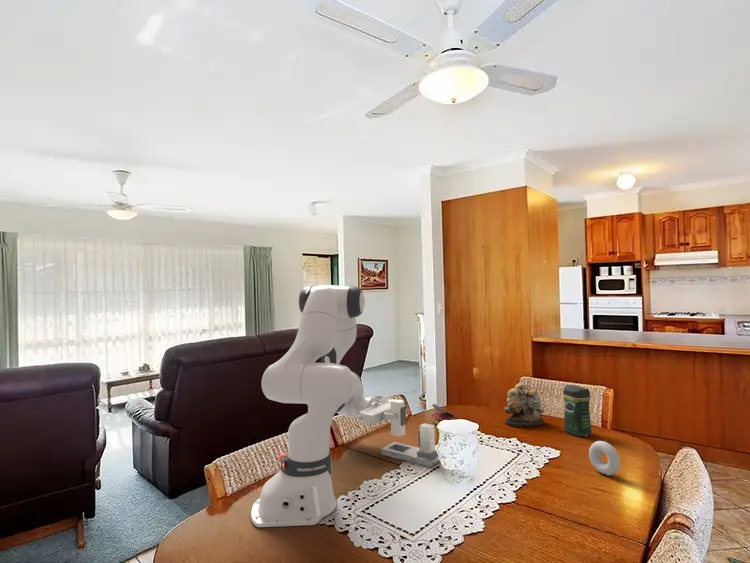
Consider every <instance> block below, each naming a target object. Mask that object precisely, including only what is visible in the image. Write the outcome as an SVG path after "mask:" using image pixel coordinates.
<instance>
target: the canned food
mask: <svg viewBox="0 0 750 563" xmlns="http://www.w3.org/2000/svg"><path fill="white" fill-rule="evenodd" d="M432 407H433V409H435V410H437V411H440V412H436V413H432V415H431V423H432V425H434V426H438V425H437V424H438V423H439V422H440V421H442V420H451V419H455V418H456V415H455V414H454V413H451V412H449V411H447V410H446V409H444V408H442V407H440V406H439V405H437V404H434V403H432ZM455 420H456V419H455Z"/></svg>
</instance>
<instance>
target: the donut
mask: <svg viewBox="0 0 750 563" xmlns="http://www.w3.org/2000/svg"><path fill="white" fill-rule="evenodd" d="M602 453H603V454H604V455H605V456H606V458H607V462H605V461H604V460H603V458H602ZM588 456H589V460H590V463H591V464H592V465H593V467H594V469H596V471H597V472H598V473H600V472H601V474H602V473H603V474H602V475H604V474H606V475H605V476H614V475H615V474H617V473H618V472H619V470H620V468H621V459H620V457H621V456H620V455H619V453H618V451H617V450H616V448H615V447H614V446H612V444H610V443H608V442H607V441H604V440H596V441H595V442H593V443H592V444H591V445H590V447H589V449H588Z"/></svg>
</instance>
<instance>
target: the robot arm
mask: <svg viewBox="0 0 750 563" xmlns="http://www.w3.org/2000/svg"><path fill="white" fill-rule="evenodd" d="M365 304H366V299H365V295H364V292H363V290H362V289H361V288H360V287H358V286H354V285H349V286H347V285H346V286H345V285H333V284H323V285H310V286H309V285H308V286H306V287H305V286H304V288H303V289H302V290H301V291H300V293H299V295H298V306H299V310H300V312H301V318H300V323H299V326H298V330H297V333H296V337H295V338H294V339H295V340H294V342H292V343H293V344H292V345H291V346H290V348H289V350H288V351H287V352H286V353H285V354H284V355H283V356H282V357H281V358H280V359H278V360H277V361H276V362H274V363H273V364H270V365H269V366H268V367H267V368H266V369H265V370H264V373H263V375H262V378H261V382H260V383H261V390H262V393H263V394H264V396H265V398H267V399H268V400H271V401H274V402H278V403H282V404H305V405H307V413H305V414H302V415H301V416H298V417H297V418H296V419H294V420H293V421H292V422H291V424H290V425H289V427H288V431H287V437H288V438H287V439H288V440H287V443H288V444H287V445H288V446H287V447H288V449H287V450H288V454H286V453H285V452H281V453H280V454H279V456H278V458H279V459H278V460H279V462H280V470H279V471H277V472H276V473H275V474H274V475H273V476H272V477H271V478H269V479H268V480H267V481H266V482H265V483H264V484H263V487H262V489H261V492H260V496H259V498H258V499H257V500H255V501H254V503H253V505H252V507H251V512H250V520H251V522H252V525H254V526H255V527H257V528H271V527H272V528H275V527H276V528H277V527H296V526H297V527H300V526H314V525H317V524H318V523H319V522H320V521H321V520H322V519H323V518H324V517H326V516H328V515H330V514H332V512H334V511H335V509H336V508H337V500H336V497H335V494H334V489H333V483H332V470H333V468H332V467H333V466H332V465H333V462H332V461H333V460H332V458H333V456H332V453H331V451H330V435H331V432H330V431H331V425H332V421H333V419H334V416H335V414H336V413H337V414H338V415H341V416H342V417H346V418H350V419H357V420H358V421H359V422H360V423H362V424H365V425H368V426H374V425H377V424H379V423H381V422H383V421H386V420H391V419H392V420H396V419H397V418H398V417H397V416H398V415H397V414H395V413H393V414H391V401H392V400H395V398H394V399H393V398H389V397H386V396H385V395H378V396H366V395H364V386H363V381H362V378H361V377H360V375H359V374H358V373H356V372H354V371H352V370H351V369H350V367H348V366H346V365H343V364H340V363H341V361H342V360H343V358H344V356H345V355H346V353H347V352H348V351H349V349H350V348H352V346H353V345H354V343H355V342H356V340H357V331H358V329H357V319H356V318H358V317H359V316H360V315H362V313H364V312H363V311H364V309H365ZM320 358H321V361H320V362H316V361H317V360H319V359H320Z"/></svg>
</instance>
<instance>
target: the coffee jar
mask: <svg viewBox="0 0 750 563" xmlns="http://www.w3.org/2000/svg"><path fill="white" fill-rule="evenodd" d="M562 390H563V392H562V393H563V394H562V397H563V401H564V417H563V418H564V419H563V420H564V422H563V429H564V432H566V431H567V432H566V433H568V432H569V433H568V434H570V433H571V434H570V435H572V434H574V435H573V436H575V435H578V436H577V437H584V436H585V435H589V436H591V435H592V424H591V413H590V402H591V401H590V400H591V392H590V389H589V388H586V387H581V386H579V385H575V384H567V385H565V386H564V387H563V389H562ZM590 434H591V435H590Z"/></svg>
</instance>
